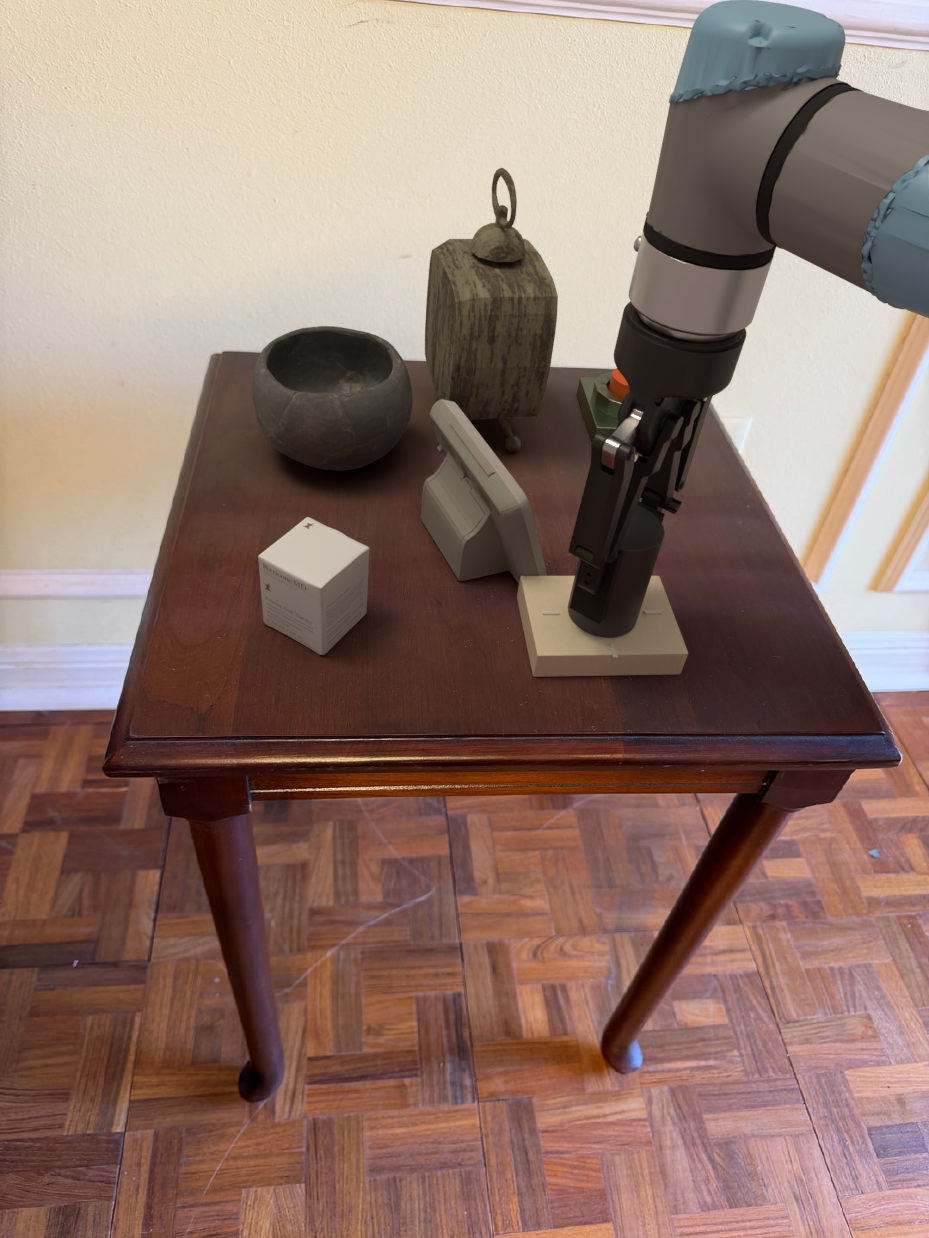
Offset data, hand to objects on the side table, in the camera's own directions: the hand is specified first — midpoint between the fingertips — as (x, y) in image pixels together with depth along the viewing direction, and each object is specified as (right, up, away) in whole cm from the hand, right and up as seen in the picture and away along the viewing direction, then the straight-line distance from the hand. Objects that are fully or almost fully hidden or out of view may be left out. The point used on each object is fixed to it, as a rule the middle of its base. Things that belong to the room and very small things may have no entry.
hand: (608, 592), depth 70 cm
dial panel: (0, -3, +3) cm, 5 cm away
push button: (+6, +22, +25) cm, 34 cm away
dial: (0, -2, +2) cm, 2 cm away
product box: (-23, -2, +2) cm, 23 cm away
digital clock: (-10, +5, +11) cm, 15 cm away
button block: (+6, +20, +27) cm, 34 cm away
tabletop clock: (-10, +18, +24) cm, 32 cm away
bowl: (-24, +14, +18) cm, 34 cm away
